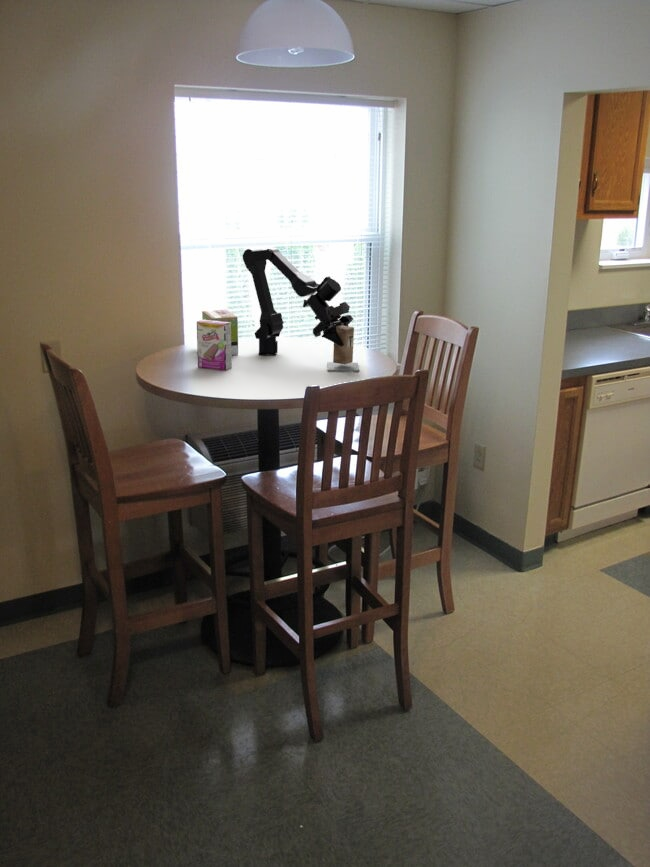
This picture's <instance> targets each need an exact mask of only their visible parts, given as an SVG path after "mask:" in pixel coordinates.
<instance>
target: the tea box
mask: <svg viewBox="0 0 650 867" xmlns="http://www.w3.org/2000/svg"><path fill="white" fill-rule="evenodd" d="M201 313H202V314H201V316H202V317H201V318H202V319H201V320H203V319H204V320H213V321H222V322H231V355H232V356H238V355H239V333H238V332H239V331H238V330H239V329H238V328H239V327H238V323H239V322H238V320H239V319H238V316H237V315H235V314H234V313H232V312H230V311H229V310H227V309H216V310H215V309H213V310H202V311H201Z"/></svg>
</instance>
